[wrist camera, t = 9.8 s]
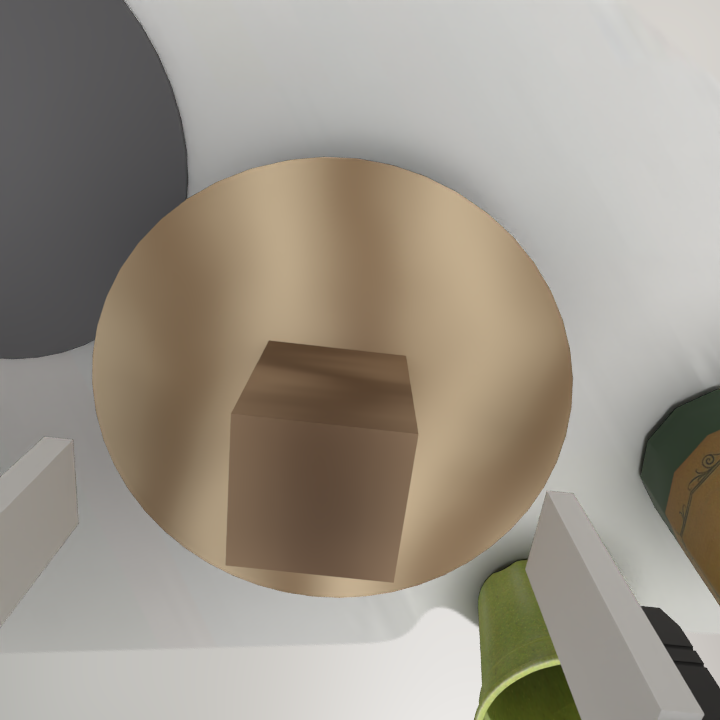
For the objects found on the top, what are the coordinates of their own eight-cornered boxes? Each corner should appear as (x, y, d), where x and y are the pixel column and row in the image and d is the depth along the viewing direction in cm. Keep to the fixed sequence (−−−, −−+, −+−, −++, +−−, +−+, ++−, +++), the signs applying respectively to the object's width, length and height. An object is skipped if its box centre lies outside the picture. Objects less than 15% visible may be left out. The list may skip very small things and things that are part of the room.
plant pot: (467, 523, 33) (498, 646, 25) (625, 544, 34) (707, 672, 25) (437, 644, 37) (456, 788, 28) (582, 662, 37) (641, 809, 29)
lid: (115, 556, 26) (24, 701, 19) (93, 127, 19) (-54, 118, 13) (510, 596, 26) (558, 753, 19) (617, 189, 20) (742, 213, 13)
